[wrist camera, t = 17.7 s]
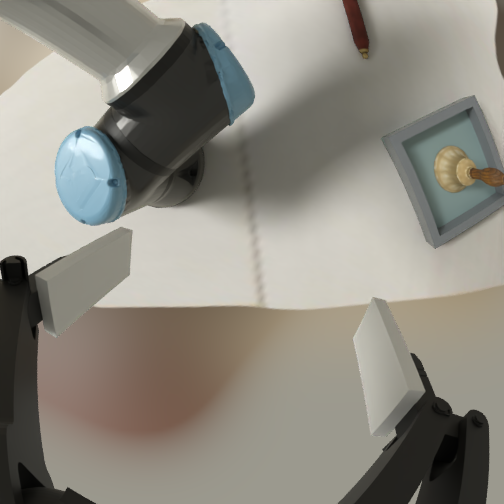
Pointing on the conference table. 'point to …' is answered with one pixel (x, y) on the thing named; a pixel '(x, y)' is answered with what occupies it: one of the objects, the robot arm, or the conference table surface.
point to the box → (423, 177)
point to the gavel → (357, 26)
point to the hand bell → (462, 171)
